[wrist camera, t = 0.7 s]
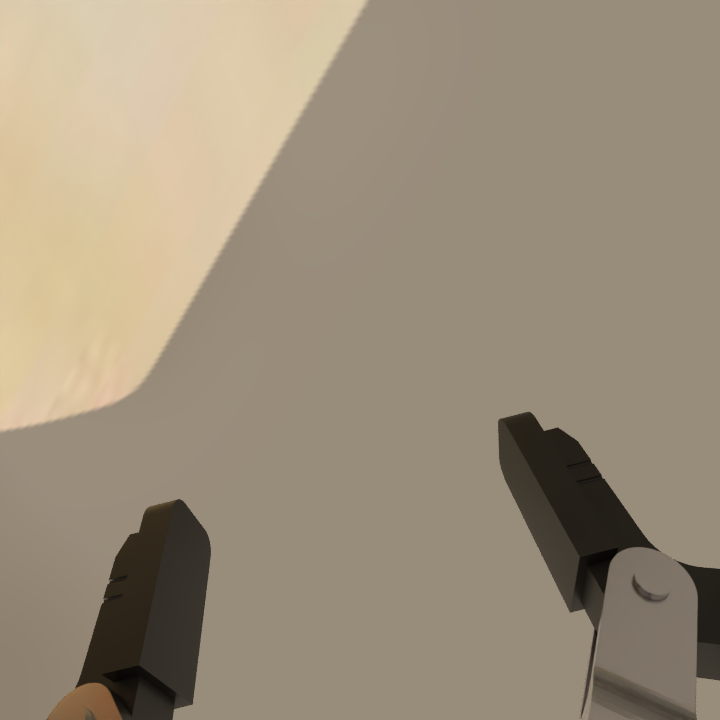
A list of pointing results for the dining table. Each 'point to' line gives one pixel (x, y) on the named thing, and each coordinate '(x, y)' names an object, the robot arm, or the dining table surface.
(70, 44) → the dining table surface
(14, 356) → the dining table surface
